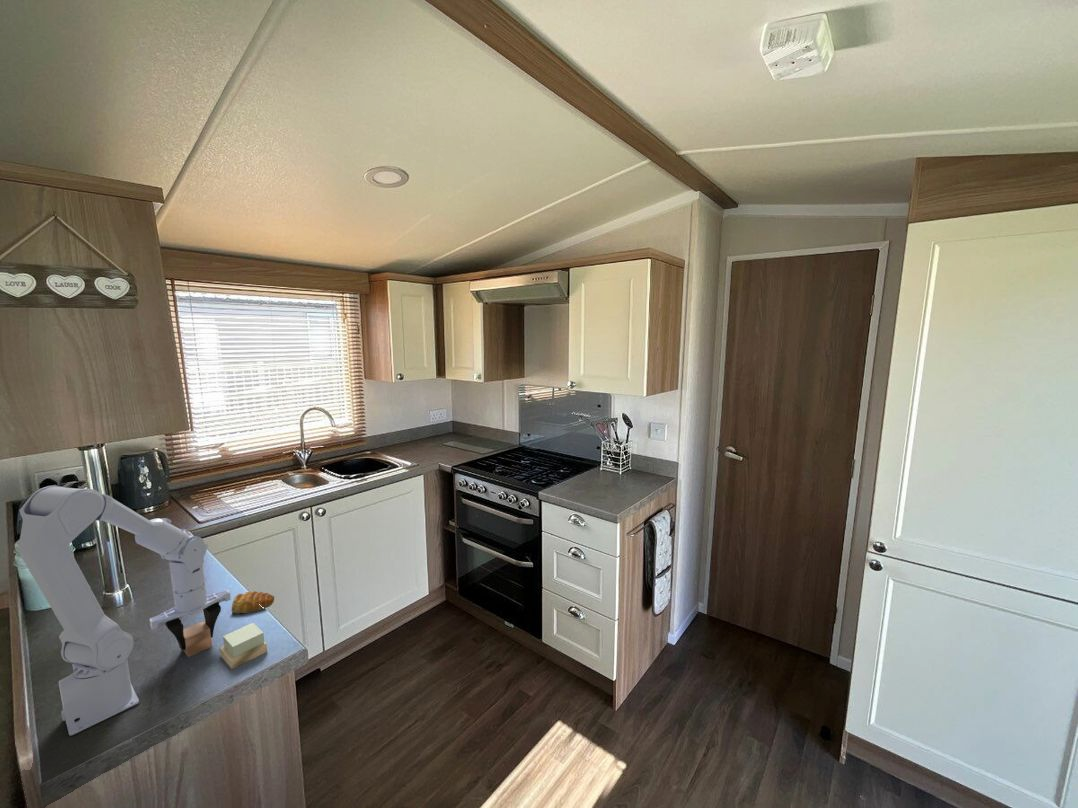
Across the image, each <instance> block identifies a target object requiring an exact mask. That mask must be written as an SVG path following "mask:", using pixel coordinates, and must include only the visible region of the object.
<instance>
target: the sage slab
mask: <svg viewBox="0 0 1078 808" xmlns="http://www.w3.org/2000/svg"><path fill="white" fill-rule="evenodd" d="M222 638H223V639H222V640H223V646H224V647H225V648H226V649H227V650H228V651H229V652H230V653H231V655H232V656H233V657H236V656H238V655H240V654H242V653H244V652H246V651H249V650H251V649H253V648H255V647H257V646H259V645H261V644H263V643H264V642H265V637H264V631H262V629H260V628H259V627H258V626H257V625H256V624H255V623H254V622H251V623H249V624H247V625H245V626H242V627H241V628H238V629H236V630H234V631H231V632H230V633H227V634H224V635H222Z"/></svg>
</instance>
